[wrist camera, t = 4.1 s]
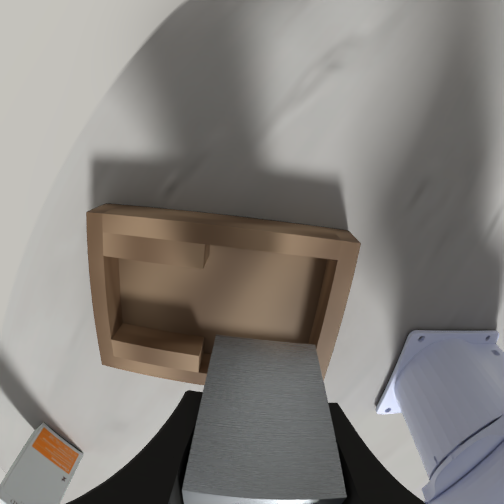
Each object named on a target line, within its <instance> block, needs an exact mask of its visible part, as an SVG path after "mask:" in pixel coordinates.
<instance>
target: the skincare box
mask: <svg viewBox="0 0 504 504" xmlns="http://www.w3.org/2000/svg"><path fill="white" fill-rule="evenodd" d="M82 457H83V453H81V452H80V451H78V450H77V449H75V448H74V447H73V446H71V445H70V444H69V443H68V442H66V441H65V440H64V439H62V438H61V437H60V436H59V435H57V434H56V433H55V432H54V431H53V430H51V429H50V428H49V427H48V426H47V425H46V424H45V423H42V424H41V425H40V426H39V427H38V428H37V429H36V430H35V431H34V432H33V433H32V435H31V436H30V438H29V439H28V441H27V442H26V444H25V446H24V447H23V449H22V450H21V452H20V453H19V455H18V456H17V458H16V460H15V461H14V463H13V465H12V466H11V468H10V469H9V471H8V473H7V474H6V476H5V478H4V479H3V481H2V483H1V484H0V504H60V502H61V500H62V498H63V496H64V494H65V492H66V490H67V488H68V486H69V484H70V482H71V479H72V477H73V475H74V473H75V471H76V469H77V467H78V465H79V463H80V461H81V459H82Z"/></svg>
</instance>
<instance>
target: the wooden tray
mask: <svg viewBox="0 0 504 504" xmlns="http://www.w3.org/2000/svg"><path fill="white" fill-rule="evenodd" d="M86 216H87V245H88V261H89V274H90V285H91V294H92V303H93V311H94V318H95V325H96V332H97V338H98V344H99V350H100V355H101V361H102V365H106V366H110V367H114V368H118V369H122V370H126V371H131V372H135V373H140V374H144V375H149V376H154V377H159V378H164V379H170V380H175V381H181V382H187V383H193V384H199V385H205V381H206V376H207V372H208V368H209V363H210V359H211V354H212V350H213V346H214V341H215V337H216V335H224V336H232V337H240V338H249V339H258V340H268V341H278V342H289V343H302V344H315V347H316V351H317V356H318V360H319V364H320V369H321V373H322V377H323V381H324V378H325V374H326V371H327V368H328V365H329V362H330V359H331V356H332V352H333V349H334V346H335V342H336V339H337V336H338V332H339V329H340V325H341V322H342V318H343V314H344V311H345V307H346V303H347V299H348V296H349V292H350V288H351V284H352V280H353V276H354V271H355V267H356V263H357V258H358V254H359V249H360V245H361V243H360V242H359V241H358V240H357V239H356V238H355V237H354V236H353V235H352V234H351V233H350V232H349V231H347V230H340V229H333V228H326V227H319V226H311V225H304V224H296V223H288V222H280V221H272V220H264V219H256V218H248V217H239V216H230V215H221V214H212V213H203V212H193V211H184V210H174V209H163V208H153V207H142V206H130V205H119V204H107V203H106V204H104V205H102V206H99V207H97V208H95V209H92V210H90V211H88V212H86Z"/></svg>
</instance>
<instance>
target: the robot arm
mask: <svg viewBox="0 0 504 504" xmlns="http://www.w3.org/2000/svg"><path fill="white" fill-rule="evenodd" d="M421 336H422V337H421ZM419 337H421V338H420V339H419ZM498 338H499V332H498V331H496V330H491V331H431V330H414V331H412V332H411V333H410V334H409V335H408V337H407V340H406V343H405V345H404V348H403V350H402V352H401V355H400V357H399V360H398V362H397V364H396V367H395V369H394V371H393V373H392V376H391V378H390V380H389V382H388V384H387V386H386V389H385V391H384V393H383V395H382V397H381V399H380V401H379V403H378V405H377V407H376V412H377V414H393V413H402V414H403V416H404V419H405V421H406V423H407V426H408V428H409V430H410V433H411V435H412V437H413V440H414V442H415V445H416V447H417V450H418V452H419V454H420V457H421V459H422V462H423V464H424V467H425V470H426V472H427V475H428V477H429V480H430V481H429V483H428V484H427V485H425V486H424V487H423V488H422V491H423V494H424V497H425V501H424V502H423V501H422V500H420V499H419V498H418V497H416V496H415V495H414V494H412V493H411V492H410V491H409V490H407V489H406V488H405V487H404V486H403V485H402V484H401V483H399V482H398V481H397V480H396V479H395V478H394V477H393V476H392V475H391V474H390V473H389V472H388V471H387V470H386V469H385V467H384V466H383V465H382V464H381V463H380V462H379V461H378V459H377V458H376V457H375V456H374V455H373V453H372V452H371V451H370V450H369V448H368V447H367V446H366V444H365V443H364V442H363V440H362V439H361V438H360V436H359V435H358V433H357V432H356V430H355V429H354V427H353V426H352V425H351V423H350V422H349V420H348V418H347V417H346V415H345V414H344V412H343V411H342V409H341V408H340V406H339V405H338V403H328V405H329V409H330V414H331V419H332V423H333V428H334V433H335V438H336V443H337V448H338V453H339V458H340V463H341V468H342V474H343V479H344V484H345V490H346V495H347V498H346V499H345V500H344V501H343V502H342V504H504V352H503V351H502V350H501V349H500V348H499V347H498V346H497V344H496V342H497V340H498ZM202 394H203V392H196V391H190V390H188V391H186V392H185V394H184V396H183V398H182V399H181V401H180V403H179V404H178V406H177V407H176V409H175V410H174V412H173V413H172V415H171V416H170V417H169V419H168V420H167V421H166V423H165V424H164V425H163V426H162V428H161V429H160V430H159V432H158V433H157V434H156V435H155V436H154V437H153V438H152V440H151V441H150V442H149V443H148V444H147V445H146V446H145V447H144V448H143V449H142V450H141V451H140V452H139V453H138V454H137V455H136V456H135V457H134V458H133V459H132V460H131V461H130V462H129V463H128V464H126V465H125V466H124V467H123V468H122V469H120V470H119V471H118V472H117V473H115V474H114V475H113V476H112V477H110V478H109V479H107V480H106V481H105V482H103V483H102V484H100V485H99V486H97V487H95V488H94V489H92V490H91V491H89V492H87V493H86V494H84V495H82V496H80V497H79V498H77V499H75V500H73V501H70V502H68V503H66V504H184V501H183V494H182V488H183V483H184V478H185V473H186V468H187V464H188V459H189V454H190V450H191V445H192V440H193V436H194V431H195V426H196V422H197V417H198V413H199V408H200V403H201V399H202ZM387 408H388V409H387Z"/></svg>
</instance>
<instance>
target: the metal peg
mask: <svg viewBox="0 0 504 504" xmlns="http://www.w3.org/2000/svg"><path fill="white" fill-rule="evenodd" d="M182 494H183V501H184V504H342V502H343V501H344V500H345V499H346V498H347V495H346V490H345V484H344V479H343V474H342V468H341V463H340V458H339V453H338V448H337V443H336V438H335V433H334V428H333V423H332V419H331V414H330V409H329V405H328V400H327V395H326V391H325V386H324V382H323V377H322V373H321V369H320V364H319V360H318V356H317V351H316V347H315V344H302V343H289V342H278V341H268V340H258V339H249V338H240V337H232V336H224V335H216V337H215V341H214V346H213V350H212V354H211V359H210V363H209V368H208V372H207V376H206V381H205V385H204V390H203V394H202V399H201V403H200V408H199V413H198V417H197V422H196V426H195V431H194V436H193V440H192V445H191V450H190V454H189V459H188V464H187V468H186V473H185V478H184V483H183V488H182Z"/></svg>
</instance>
